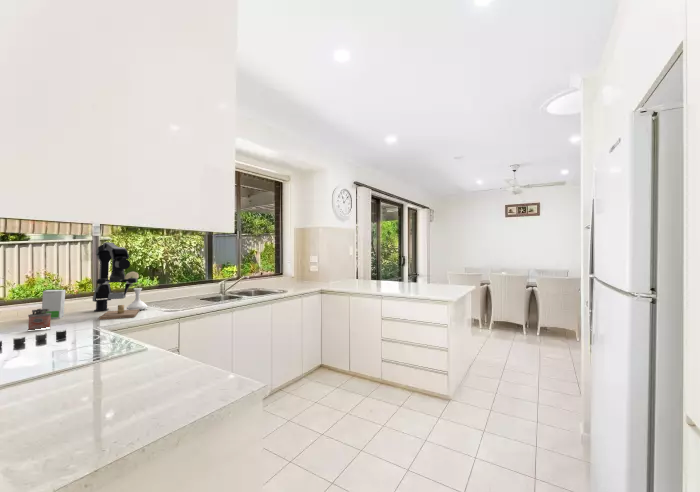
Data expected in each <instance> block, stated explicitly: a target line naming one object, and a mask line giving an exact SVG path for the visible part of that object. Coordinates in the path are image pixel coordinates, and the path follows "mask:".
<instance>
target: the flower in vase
mask: <svg viewBox="0 0 700 492" xmlns="http://www.w3.org/2000/svg"><path fill="white" fill-rule="evenodd" d="M139 277H140V276H139V272H136V271H130V272H127V273H126V274H125V279H128V278H137V280H138V279H139ZM142 285H143V282H141V283H138V284H135V283H133V284H131V285H130V286H129V288H131V287H133V286H134V287H135V288H133V290H134V292H135V297H134V298H135V299H134V301H132V302H131V303H130V304H128V305H127V306H126V310H138V309H139V311H140V310H145V309H147V308H148V305H147V304H146V303H145V302H144V301H142V300H141V298H140V297H141V295H140V294H141V292H142V290H143V288H142V287H140V286H142ZM138 287H139V288H138Z"/></svg>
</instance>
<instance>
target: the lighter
mask: <svg viewBox="0 0 700 492" xmlns="http://www.w3.org/2000/svg"><path fill="white" fill-rule="evenodd" d="M49 310H50V309H42V308H36V309H32V310H31V313H32V314H31V313H30V314H28V316H27V317H28V325H27V326H28V329H27V331H28V330H35V329H41V328H46V327H51V320H52V319H51V313H46V312H48V311H49Z"/></svg>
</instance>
